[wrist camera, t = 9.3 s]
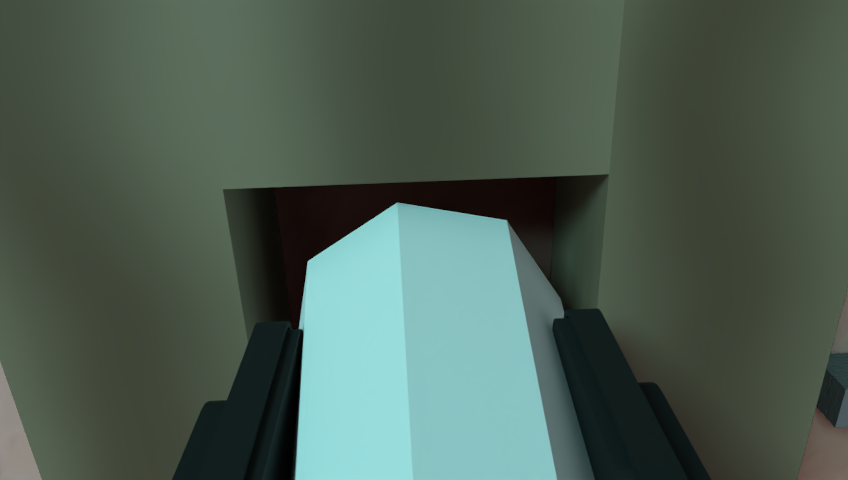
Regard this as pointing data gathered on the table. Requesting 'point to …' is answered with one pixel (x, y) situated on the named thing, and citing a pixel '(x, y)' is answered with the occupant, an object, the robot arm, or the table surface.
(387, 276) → the salt shaker
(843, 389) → the u-shaped bracket
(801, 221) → the socket block
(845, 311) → the table surface
